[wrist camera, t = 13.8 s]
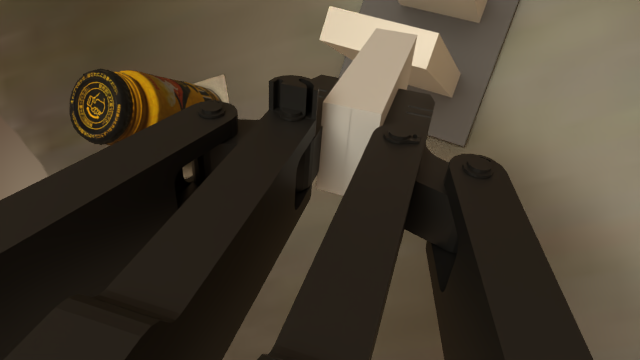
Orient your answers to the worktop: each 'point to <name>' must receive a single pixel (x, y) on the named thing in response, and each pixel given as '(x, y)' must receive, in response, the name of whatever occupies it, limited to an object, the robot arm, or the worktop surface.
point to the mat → (454, 58)
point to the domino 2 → (450, 7)
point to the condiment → (133, 103)
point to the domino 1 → (430, 51)
